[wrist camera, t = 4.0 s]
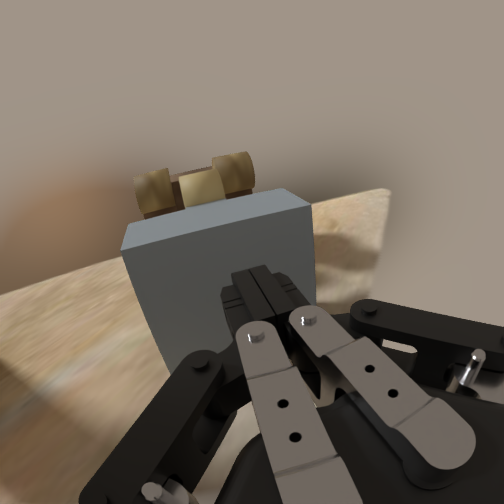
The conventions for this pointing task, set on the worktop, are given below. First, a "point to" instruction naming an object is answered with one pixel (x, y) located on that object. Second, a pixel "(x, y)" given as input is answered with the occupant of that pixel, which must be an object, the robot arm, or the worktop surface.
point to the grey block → (213, 259)
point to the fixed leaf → (168, 187)
